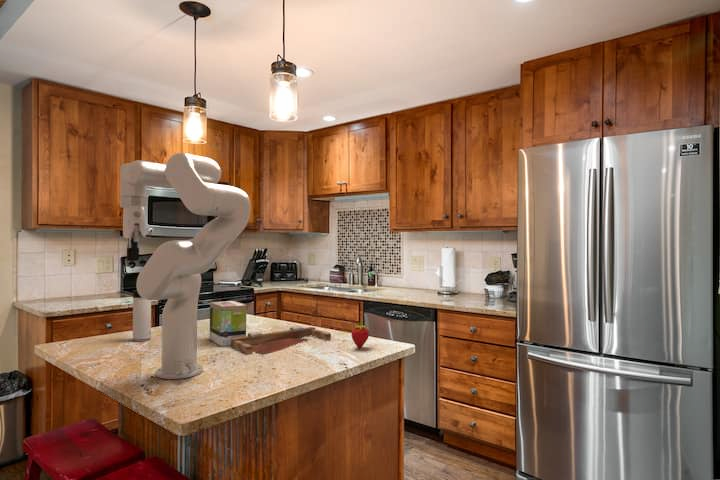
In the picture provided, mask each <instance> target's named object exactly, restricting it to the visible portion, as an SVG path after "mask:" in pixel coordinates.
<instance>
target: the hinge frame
mask: <svg viewBox="0 0 720 480" xmlns="http://www.w3.org/2000/svg"><path fill="white" fill-rule="evenodd" d="M331 334H332V333H330V332H327V331H323V330H320V329H316V327H313V326H308V327H303V326H298V325H297V326H290V328H289V330H281V331H275V332H267V333H262V332H259V331H254V332H253V331H252V332H248V333H247V335H246V336H245V337H238V338H231V345H230V347H231V348H232V349H235V350H237V351H239V352H241V353H243V354H245V355H252V354H253V352H252V346H256V345H260V344H263V343H267V342H272V341H277V340H282V339H288V338H299V337H301V338H305V337H304V336H307V337H313V336H315V337H314V338H316V337H318V338H317V339H320V338H322V339H321V340H323V339H325V340H324V341H326V340H328V341H331V340H332V335H331ZM310 335H312V336H310ZM330 339H331V340H330Z"/></svg>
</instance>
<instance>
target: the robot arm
mask: <svg viewBox="0 0 720 480" xmlns="http://www.w3.org/2000/svg"><path fill="white" fill-rule="evenodd" d="M119 175H120V176H119V181H120V182H119V208H123V212H122V213H123V215H122V216H123V217H122V236H123V238H124V239H126V260H127V261H128V262H130V261H131V262H132V261H133V262H135V261H137V262H138V261H139V260H140V239H146V236H147V234H146V233H147V232H146V231H147V230H146V228H147V227H146V226H147V225H146V213H145V212H146V211H145V209H147V200H148V199H147V196H148V195H147V192H148V191H147V189H148V188H147V187H153V188H154V187H155V188H162V189H174V191H175V193H176V194H177V195H178V197H179V199H180V200H181V202H182V203H183V205H184V206H185V208H186V209H187V210H188V211H190V212H191V213H192V214H195V215H199V216H208V217H209V216H212V217H215V218H214V219H212V220H210V221H209V222H207V223H206V224H205V225H204V226H202V228H201V229H200V230H199V232H198V233H196V235H195V236H194V237H193V238H191V239H186V240H185V239H184V240H182V239H181V240H178V239H175V240H168V241H165V242H163V243H161V245H159V246H158V247H157V248H156V249H155V251H154V252H153V253H152V255H151V256H150V257H149V259H148V260H147V261H146V263H145V264H144V265H143V266H142V269H141V270H140V272H139V274H138V276H137V278H136V290H137V291H138V294H139V295H140V296H141V297H142V298H144V299H146V300H151V301H161V300H166V303H165V305H164V307H163V310H162V313H161V367H159V368H157V369H156V370H155V376H156V377H157V378H160V379H164V380H179V379H180V380H181V379H186V378H191V377H194V376H197V375H199V374H201V373H202V372H203V366H202V365H201V364H200V363H199V364H198V309H199V308H198V306H199V296H200V293H201V292H200V290H201V286H202V274H204V273H206V272H208V271H209V270H210V269H211V268H212V267H213V265H215V263H216V262H217V261H218V259H219V258H220V257H221V256H222V255H223V253H224V252H225V251H226V250H227V248H229V246H230V245H231V244H232V243H233V242H234V241H235V239H236V238H238V237H239V236H240V234H241V233H242V232H243V231H244V229H245V228H246V226H247V225H248V222H249V220H250V216H251V211H252V207H251V206H252V205H251V199H250V197H249V194H247V192H245V191H244V190H242V189H241V188H238V187H235V186H234V185H233V186H231V185H226V184H222V183H221V184H219V181H220V180H221V177H222V169H221V166H219V164H218V162H217V161H215V160H214V159H212V158H210V157H206V156H201V155H196V154H192V153H187V152H176V153H174V154H173V155H171V156H169V158H168V160H167V162H166V164H164V163H160V162H154V161H147V160H141V159H140V160H137V159H136V160H133V161H132V162H130V163H129V162H128V163H123V164H121V166H120V169H119Z"/></svg>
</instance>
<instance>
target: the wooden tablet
mask: <svg viewBox="0 0 720 480" xmlns="http://www.w3.org/2000/svg"><path fill="white" fill-rule="evenodd" d="M302 338H303V337H301V338H288V339H282V340H277V341H272V342H267V343H263V344H256V345H251V346H252V353H255V354H258V355H266V354H267V355H268V354H271V353H274V352H279V351H281V350H284V349H288V348H291V347H294V346H296V344H297V345H299V344H298V343H300V344H302V343H304V342H303V341H305V342H307V341H306V340H308V339H309V338H303V339H302ZM308 341H309V340H308ZM301 342H302V343H301ZM293 345H294V346H293ZM290 346H291V347H290Z"/></svg>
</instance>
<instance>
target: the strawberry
mask: <svg viewBox="0 0 720 480" xmlns="http://www.w3.org/2000/svg"><path fill="white" fill-rule="evenodd" d="M366 327H367V325H363V324H362V325H361V324H358V325H354V326H353V329H352V330H351V334H350V335H351V338H352V341H353V343H354V345H356V346H357V348H358V349H359V348H361V349H362V348H363V346H364V345H365V344H366V342H367V341H368V339H369V336H370V331H369V329H368V328H366Z"/></svg>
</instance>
